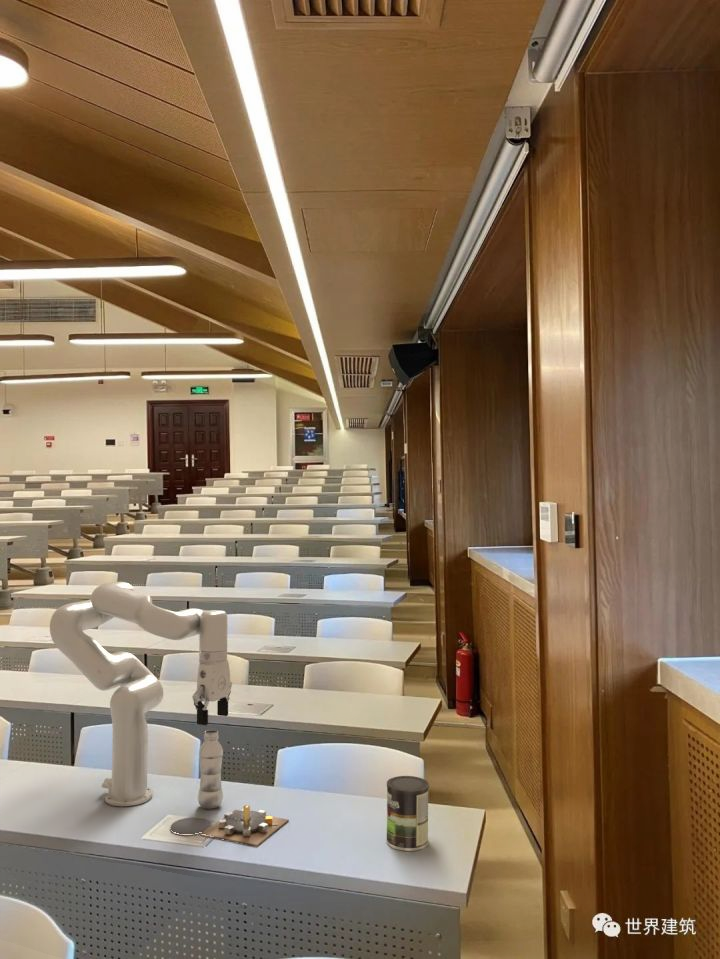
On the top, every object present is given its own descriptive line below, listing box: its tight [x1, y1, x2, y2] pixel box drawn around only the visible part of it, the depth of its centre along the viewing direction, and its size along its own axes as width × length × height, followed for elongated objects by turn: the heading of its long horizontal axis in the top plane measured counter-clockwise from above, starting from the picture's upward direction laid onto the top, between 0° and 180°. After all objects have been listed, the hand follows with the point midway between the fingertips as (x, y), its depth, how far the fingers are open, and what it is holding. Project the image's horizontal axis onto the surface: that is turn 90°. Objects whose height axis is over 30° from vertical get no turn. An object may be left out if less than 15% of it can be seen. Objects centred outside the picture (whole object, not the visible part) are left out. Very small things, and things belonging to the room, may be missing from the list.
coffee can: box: [385, 775, 430, 852], centre depth 179 cm, size 10×10×14 cm
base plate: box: [200, 809, 290, 848], centre depth 186 cm, size 16×16×1 cm
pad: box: [170, 816, 212, 834], centre depth 186 cm, size 10×10×1 cm
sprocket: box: [218, 804, 273, 836], centre depth 186 cm, size 13×13×6 cm
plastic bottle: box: [197, 729, 224, 810], centre depth 200 cm, size 6×7×20 cm
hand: (212, 719), depth 200 cm, fingers open, 9 cm apart
